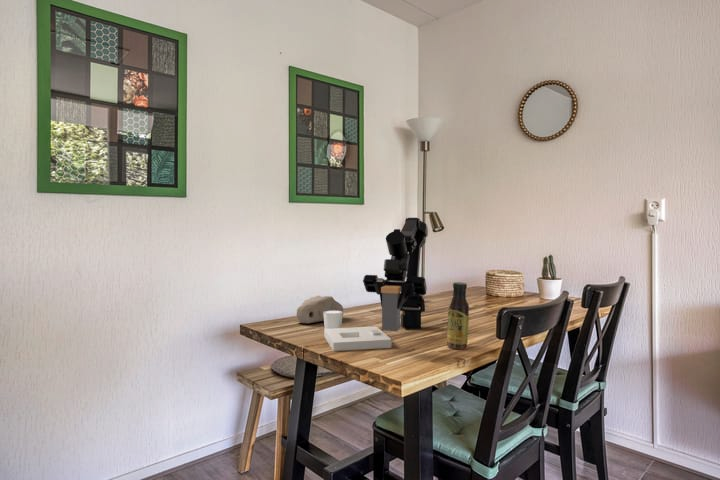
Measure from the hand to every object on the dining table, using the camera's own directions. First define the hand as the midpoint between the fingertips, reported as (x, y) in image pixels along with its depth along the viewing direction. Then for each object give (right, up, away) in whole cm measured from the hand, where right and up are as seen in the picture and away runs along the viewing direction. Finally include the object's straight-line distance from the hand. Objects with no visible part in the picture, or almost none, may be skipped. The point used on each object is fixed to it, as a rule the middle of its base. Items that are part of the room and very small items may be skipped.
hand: (390, 307), depth 131 cm
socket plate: (-10, -13, +13) cm, 21 cm away
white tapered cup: (-18, -13, +27) cm, 35 cm away
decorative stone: (-25, -12, +43) cm, 51 cm away
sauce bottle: (+21, -14, +7) cm, 26 cm away
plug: (0, -7, +2) cm, 7 cm away
